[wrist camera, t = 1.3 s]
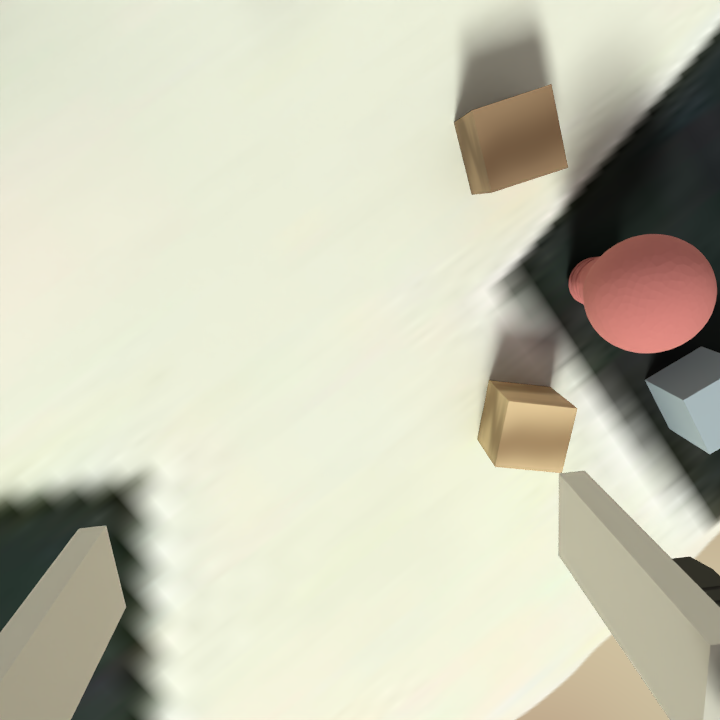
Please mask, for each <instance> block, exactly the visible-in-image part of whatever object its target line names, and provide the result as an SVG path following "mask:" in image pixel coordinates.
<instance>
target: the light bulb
mask: <svg viewBox="0 0 720 720" xmlns="http://www.w3.org/2000/svg"><path fill="white" fill-rule="evenodd" d="M569 290H570V293H571V295H572V296H573V298H574V299H575V300H577V301H578V302H580V303H582V304H584V307H585V311H586V314H587V317H588V319H589V321H590V323H591V324H592V326H593V327H594V329H595V330H596V331H597V332H598V334H599V335H600V336H601V337H603V338H604V339H605V340H606V341H608V342H609V343H611V344H612V345H614V346H617V347H619V348H621V349H624V350H627V351H631V352H636V353H658V352H663V351H667V350H670V349H673V348H675V347H678V346H680V345H682V344H684V343H685V342H687V341H689V340H690V339H692V338H693V337H694V336H695V335H696V334H697V333H698V332H699V331H700V330H701V329H702V328H703V327H704V326H705V324H706V323H707V322H708V320H709V318H710V316H711V314H712V312H713V309H714V306H715V303H716V296H717V284H716V279H715V275H714V272H713V270H712V268H711V266H710V264H709V262H708V261H707V259H706V258H705V257H704V255H703V254H702V253H701V252H700V251H699V250H698V249H696V248H695V247H694V246H692V245H691V244H689V243H687V242H685V241H683V240H681V239H678V238H676V237H672V236H667V235H660V234H647V235H640V236H636V237H632V238H629V239H626V240H624V241H622V242H620V243H618V244H616V245H614V246H613V247H611V248H610V249H608V250H607V251H606V252H605V253H604V254H603V255H602V256H600V257H591V258H587V259H585V260H583V261H581V262H580V263H578V264H577V265H576V266H575V268H574V269H573V270H572V272H571V274H570V277H569Z"/></svg>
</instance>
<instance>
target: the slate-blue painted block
mask: <svg viewBox="0 0 720 720" xmlns="http://www.w3.org/2000/svg"><path fill="white" fill-rule="evenodd" d="M645 381H646V383H647V385H648V387H649V389H650V391H651V393H652V395H653V397H654V399H655V401H656V403H657V405H658V407H659V409H660V411H661V413H662V415H663V417H664V419H665V421H666V423H667V425H668V427H669V429H671V430H672V431H674V432H676V433H677V434H679V435H680V436H682V437H683V438H685V439H687V440H688V441H690V442H691V443H693V444H694V445H696V446H698V447H699V448H701V449H702V450H704V451H705V452H707V453H709V454H711V453H713V452H714V451H716V450H718V449H720V353H718V352H715V351H713V350H710V349H707V348H704V347H699V348H698V349H696V350H694V351H693V352H691V353H689V354H688V355H686V356H684V357H683V358H681V359H679V360H677V361H676V362H674V363H672V364H671V365H669V366H667V367H666V368H664V369H662V370H661V371H659V372H657V373H656V374H654V375H652V376H650V377H649V378H647V379H645Z"/></svg>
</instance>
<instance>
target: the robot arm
mask: <svg viewBox="0 0 720 720" xmlns="http://www.w3.org/2000/svg"><path fill="white" fill-rule="evenodd" d="M558 555H559V556H560V558H561V559H562V561H563V562H564V564H565V565H566V567H567V568H568V570H569V571H570V573H571V574H572V576H573V577H574V579H575V580H576V582H577V583H578V585H579V586H580V588H581V589H582V590H583V592H584V593H585V595H586V596H587V598H588V599H589V601H590V602H591V604H592V605H593V607H594V608H595V610H596V611H597V613H598V614H599V616H600V617H601V619H602V620H603V622H604V623H605V625H606V626H607V627H608V629H609V630H610V632H611V633H612V635H613V636H614V638H615V639H616V641H617V642H618V644H619V645H620V647H621V648H622V650H623V651H624V653H625V654H626V655H627V657H628V658H629V660H630V661H631V663H632V664H633V666H634V667H635V669H636V670H637V672H638V673H639V675H640V676H641V678H642V679H643V681H644V682H645V684H646V685H647V687H648V688H649V690H650V691H651V693H652V694H653V695H654V697H655V698H656V700H657V701H658V703H659V704H660V706H661V707H662V709H663V710H664V712H665V713H666V715H667V716H668V718H669V719H670V720H720V576H719V575H718V574H717V573H716V572H715V571H714V570H713V569H711V568H709V567H708V566H706V565H704V564H702V563H700V562H698V561H697V560H695V559H693V558H691V557H683V558H675V559H671V558H670V557H669V556H668V555H667V554H666V553H665V551H664V550H663V549H662V548H661V547H660V546H659V545H658V544H657V543H656V542H655V541H654V540H653V539H652V538H651V537H650V536H649V535H648V534H647V533H646V532H645V531H644V530H643V529H642V528H641V527H640V526H639V525H638V524H637V523H636V522H635V521H634V520H633V519H632V518H631V517H630V516H629V515H628V514H627V513H626V512H625V511H624V510H623V509H622V508H621V507H620V506H619V505H618V504H617V503H616V502H615V501H614V500H613V499H612V498H611V497H610V496H609V495H608V494H607V493H606V492H605V491H604V490H603V489H602V488H601V487H600V486H599V485H598V484H597V483H596V482H595V481H594V480H593V479H592V478H591V477H590V476H589V475H588V474H587V473H586V472H585V471H578V472H569V473H560V474H559V551H558ZM125 608H126V605H125V601H124V597H123V593H122V589H121V585H120V581H119V576H118V572H117V568H116V564H115V560H114V556H113V552H112V548H111V544H110V540H109V535H108V531H107V527H106V526H98V527H90V528H81V529H78V530H77V532H76V533H75V534H74V536H73V537H72V538H71V540H70V541H69V542H68V544H67V545H66V546H65V548H64V549H63V550H62V552H61V553H60V554H59V556H58V557H57V558H56V560H55V561H54V562H53V564H52V565H51V566H50V568H49V569H48V570H47V572H46V573H45V574H44V575H43V577H42V578H41V579H40V581H39V582H38V583H37V585H36V586H35V587H34V589H33V590H32V591H31V593H30V594H29V595H28V597H27V598H26V599H25V601H24V602H23V603H22V605H21V606H20V607H19V609H18V610H17V611H16V613H15V614H14V615H13V617H12V618H11V619H10V621H9V622H8V623H7V625H6V626H5V627H4V628H3V630H2V631H1V632H0V720H71V718H72V716H73V714H74V712H75V710H76V708H77V706H78V704H79V702H80V700H81V698H82V696H83V694H84V692H85V689H86V687H87V685H88V683H89V681H90V679H91V677H92V675H93V673H94V671H95V669H96V667H97V665H98V663H99V661H100V659H101V657H102V655H103V653H104V651H105V649H106V647H107V645H108V643H109V640H110V638H111V636H112V634H113V632H114V630H115V628H116V626H117V624H118V622H119V620H120V618H121V616H122V614H123V612H124V610H125Z"/></svg>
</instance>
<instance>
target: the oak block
mask: <svg viewBox="0 0 720 720" xmlns="http://www.w3.org/2000/svg"><path fill="white" fill-rule="evenodd" d="M576 412H577V408H576V407H575V406H574V405H572V404H571V403H570V402H569V401H567V400H566V399H565V398H564V397H562V396H561V395H560V394H559V393H557V392H556V391H555V390H554V389H552V388H551V387H546V386H537V385H528V384H519V383H509V382H500V381H491V380H489V382H488V387H487V393H486V398H485V403H484V408H483V413H482V418H481V423H480V428H479V433H478V439H477V440H478V441H479V443H480V444H481V446H482V447H483V449H484V450H485V452H486V454H487V455H488V457H489V458H490V460H491V461H492V463H493V464H494V466H495V467H504V468H514V469H525V470H535V471H546V472H556V473H562V470H563V466H564V462H565V458H566V453H567V449H568V445H569V441H570V437H571V433H572V429H573V424H574V420H575V416H576Z"/></svg>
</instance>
